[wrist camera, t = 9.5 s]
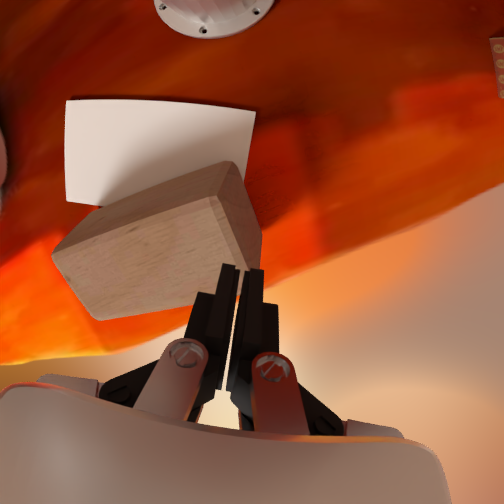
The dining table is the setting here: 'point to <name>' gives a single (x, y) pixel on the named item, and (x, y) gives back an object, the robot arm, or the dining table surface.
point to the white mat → (146, 144)
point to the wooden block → (162, 244)
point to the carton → (498, 62)
